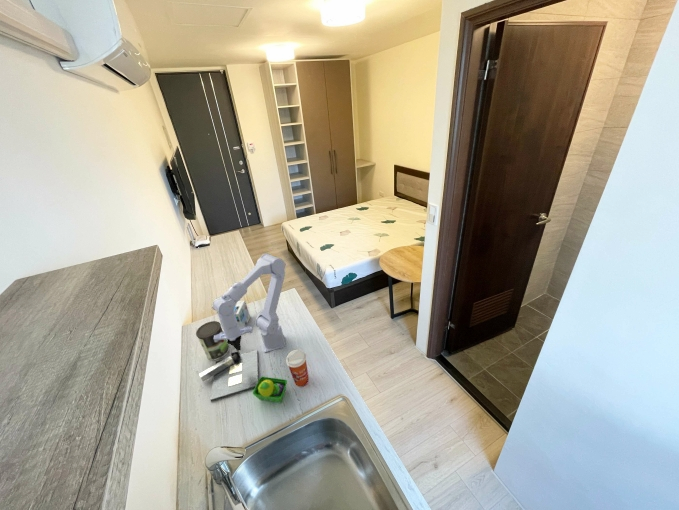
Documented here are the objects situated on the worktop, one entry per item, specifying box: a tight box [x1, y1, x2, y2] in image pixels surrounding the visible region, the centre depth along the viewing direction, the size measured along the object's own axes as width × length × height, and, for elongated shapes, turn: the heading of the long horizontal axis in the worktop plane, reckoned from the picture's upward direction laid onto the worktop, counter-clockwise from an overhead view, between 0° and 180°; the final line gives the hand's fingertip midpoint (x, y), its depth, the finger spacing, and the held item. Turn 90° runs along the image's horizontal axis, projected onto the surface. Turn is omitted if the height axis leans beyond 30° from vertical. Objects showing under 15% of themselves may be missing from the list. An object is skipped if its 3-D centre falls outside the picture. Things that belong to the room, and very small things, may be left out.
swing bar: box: [198, 354, 239, 383], centre depth 115 cm, size 2×16×3 cm, turn 130°
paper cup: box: [285, 348, 309, 388], centre depth 106 cm, size 8×8×14 cm
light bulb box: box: [234, 300, 251, 327], centre depth 140 cm, size 11×7×11 cm, turn 179°
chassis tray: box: [209, 349, 259, 402], centre depth 114 cm, size 18×19×5 cm
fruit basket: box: [252, 376, 288, 404], centre depth 102 cm, size 11×9×11 cm
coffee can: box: [195, 320, 231, 361], centre depth 124 cm, size 10×10×14 cm
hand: (238, 348), depth 113 cm, fingers closed
